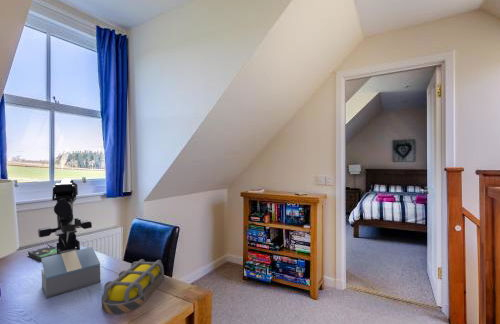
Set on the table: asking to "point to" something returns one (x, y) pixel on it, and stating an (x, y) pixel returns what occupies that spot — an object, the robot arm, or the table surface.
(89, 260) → the lid
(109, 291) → the cage light
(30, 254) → the disk drive
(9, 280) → the table surface
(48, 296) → the storage box
